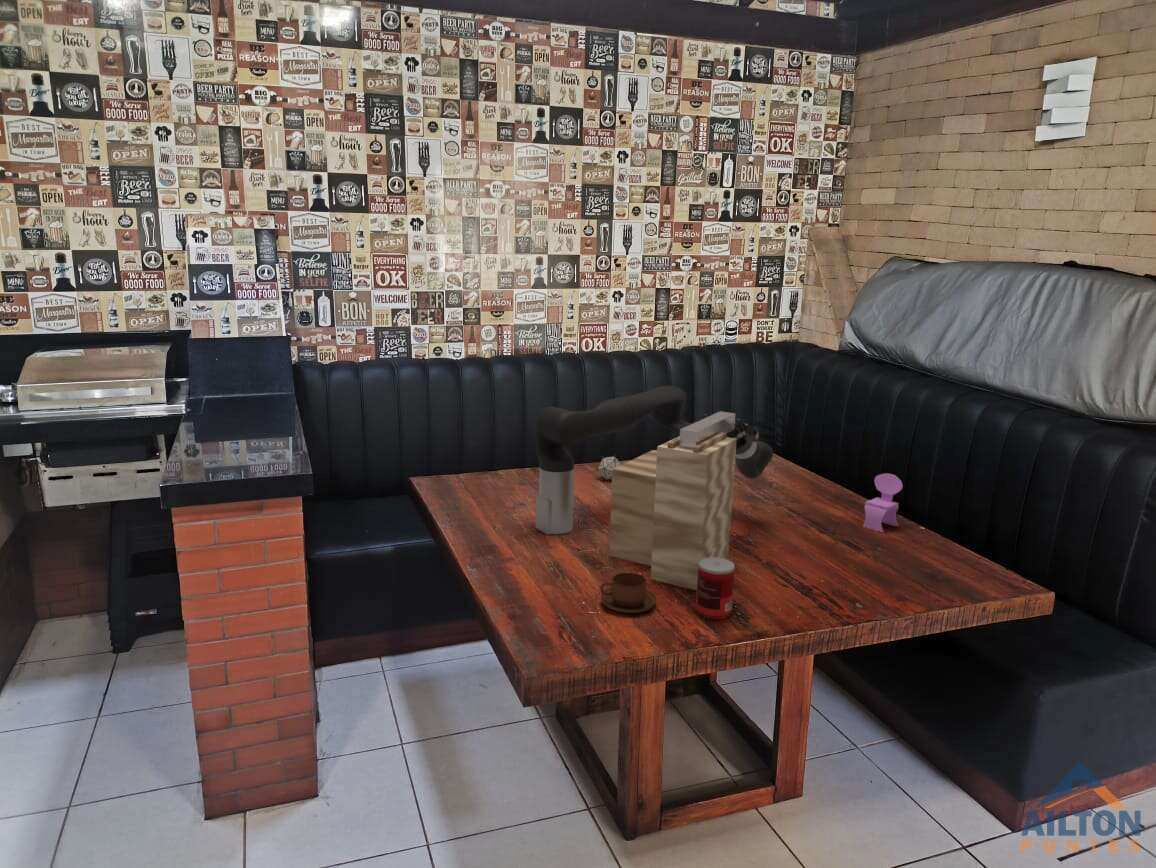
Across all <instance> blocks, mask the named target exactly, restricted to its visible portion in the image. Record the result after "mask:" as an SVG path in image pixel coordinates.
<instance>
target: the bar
mask: <svg viewBox="0 0 1156 868" xmlns="http://www.w3.org/2000/svg"><path fill="white" fill-rule="evenodd" d="M735 422H736V413H735V412H734V413H733V412H729V411H728V412H727V411H718V412H715V413H714V414H711V415H709V417H707V418H704V419H702V420H701V419H700V420H699V421H695V422H693V423H691V425H689V426H687V427H684V428H682V429H680V433H679V436H680V440H679V447H684V448H690V449H693V447H694V446H696V445H698V444H700V443H702V442H704V441H706V440H708V439H710V438H712V437H714V436H716V435H718V434H719V433H721V432H725V433H728V432H730V431H732V430H734V426H735Z"/></svg>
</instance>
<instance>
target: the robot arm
mask: <svg viewBox="0 0 1156 868" xmlns="http://www.w3.org/2000/svg"><path fill="white" fill-rule="evenodd" d="M686 402H687V394H686V392H685V391H684V390H683V389H682V388H680V387H677V386H673V385H663V386H659V387H656V388H652V389H650V390H646V391H644V392H641V393H636V394H633V395H632V394H631V395H627V396H619V397H616V398H615V397H613V398H610V399H607V400H606V399H605V400H603V401H602V402H600V403H598V405H597V406H596V407H595V408H593V409H591V410H590V409H589V410H582V411H571V410H568V409H564V408H560V407H556V406H547V407H545V408H544V409H542V410H541V412H540V413H539V415H538V417H537V419H536V420H537V421H536V424H535V440H536V442H535V443H536V455H537V459H538V462H539V474H538V475H539V480H538V481H539V485H538V488H539V489H538V492H539V493H538V494H536V495H535V529H537V530H538V531H540V532H541V533H543V534H545V535H548V536H549V535H562V534H563V535H564V534H568V533H570V532H571V531H573V527H574V524H573V523H574V520H573V519H574V487H575V484H574V483H575V459H574V457H573V455H572V454H571V453H570V452H569V451H568V449H567V448H566V446H570V445H574V444H577V443H579V442H582V441H585V440H587V439H589V438H593V437H595V436H602V435H608V434H611V433H618V432H623V431H627V430H630V429H632V428H633V427H635V426H637V425H638V424H640V422H642V421H643V420H645V418H646V417H648V415H649V416H650V419H652V421H653V422H655V423H656V424H658V425H660V426H662V427H663V428H667V429H668V430H671V431H672V432H675V433H678V434H680V429H682V428H684V427H687V426H689V425H691V424H692V423H690V422H687V421H685V420H683V419H682V415H683V412H684V410H685V406H686ZM709 416H710V415H709V414H707V413H704V414H702V417H701V418H700V420H702V419H704V418H707V417H709ZM759 435H760V432H759V430H758V428H757V427H756V425H754V424H751V425H748V423H745V422H744V421H743V420H742V419H741V418H737V419H736V420H735V426H734V430H732V431H730V432H728V433H727V437H728V438H735V439H737V440H736V454H735V464H736V465H735V466H736V467H737V470H738V471H739V472H740V474H741V475H742V476H744V477H746V478H747V479H750V480H751V479H752V480H755V479H757V478H759V477H760V476H761V475H762V473H763V472H764V470H766V467H767V466H768V465H769V463H770V462H771V460H772V459H773V457H774V449H772V447H771V446H770V445H769V444H767V443H766V442H763V441H761V440H758V439H759Z"/></svg>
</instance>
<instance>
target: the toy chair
mask: <svg viewBox="0 0 1156 868" xmlns="http://www.w3.org/2000/svg"><path fill="white" fill-rule="evenodd" d="M874 485H875V487H876V488H875V489H876V490H877V491H879V492H880V493H881V497H878V496H877V497H875V498H872V499H870V500H866V501H865V505H864V513H865V520H864V523H863V525H862V528H865V527H866V528H865V529H868V528H869V529H868V530H871V529H873V530H872V531H875V530H876V532H878V531H880V532H879V533H881V532H883V533H882V534H884V533H885V532H884V528H883V526H882V522H883V523H884V524H886V525H889V526H893V527H896V526H898V527H899V525H898V520H897V518H896V515H897V512H898V510H899V502H896V501H893V499H894V498H893V497H894V496H895V495H896V494H898V493H899V492H901V491H902V490H903V482H902V480H901V479H900V478H899V477H898V476H896V474H892V473H881V474H877V475H876V476H875V478H874Z"/></svg>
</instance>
